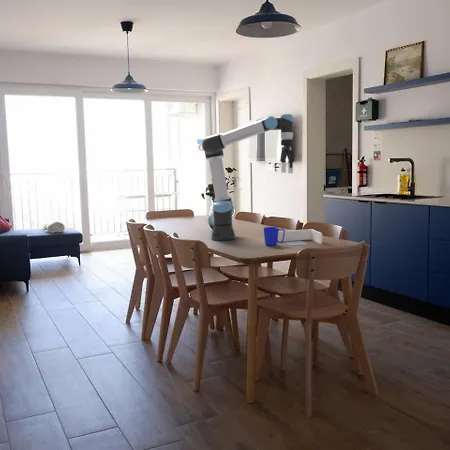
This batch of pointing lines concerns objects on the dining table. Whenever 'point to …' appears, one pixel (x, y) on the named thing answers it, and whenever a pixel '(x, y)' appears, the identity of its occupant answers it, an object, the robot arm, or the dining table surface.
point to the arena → (300, 235)
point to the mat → (295, 243)
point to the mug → (272, 235)
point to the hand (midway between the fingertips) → (287, 173)
